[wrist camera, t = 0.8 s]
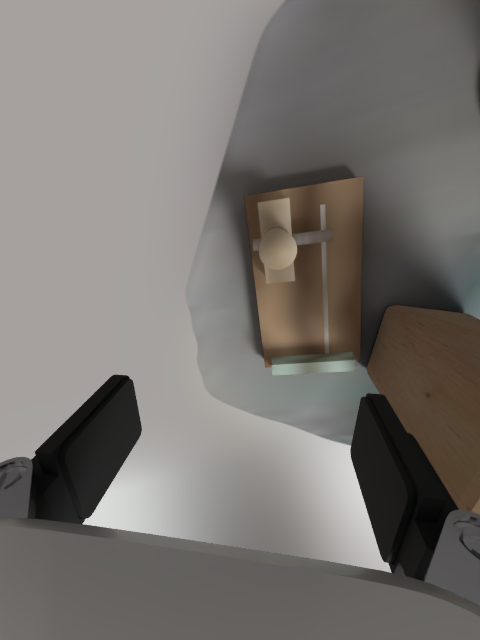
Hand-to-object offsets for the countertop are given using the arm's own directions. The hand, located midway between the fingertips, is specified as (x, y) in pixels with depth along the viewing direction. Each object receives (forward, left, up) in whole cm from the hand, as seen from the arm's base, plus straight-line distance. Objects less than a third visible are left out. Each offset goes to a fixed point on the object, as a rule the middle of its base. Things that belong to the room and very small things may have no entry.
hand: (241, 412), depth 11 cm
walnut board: (-5, +1, -24) cm, 25 cm away
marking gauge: (-4, -5, -22) cm, 23 cm away
